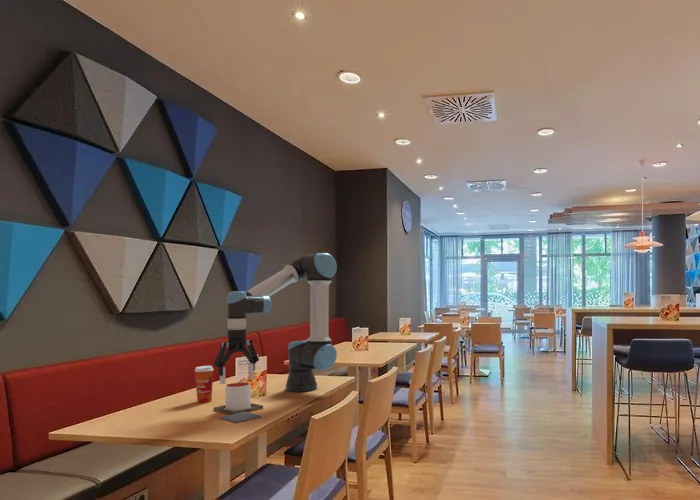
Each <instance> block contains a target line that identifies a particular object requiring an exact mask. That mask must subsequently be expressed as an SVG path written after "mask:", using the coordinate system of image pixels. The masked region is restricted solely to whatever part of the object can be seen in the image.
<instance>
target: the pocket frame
mask: <svg viewBox="0 0 700 500" xmlns="http://www.w3.org/2000/svg"><path fill="white" fill-rule="evenodd" d="M263 409H264V405H261V404H257V403H253V402H251V407H250V408H247V409H243V410H238V411H230V410H227V409H226V404H223V405H217V406H214V407H213V411H214V412H219V413H223V414H227V415H231V414H236V413H240V412H249V413H251V412H254V411H258V410H263Z"/></svg>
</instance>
